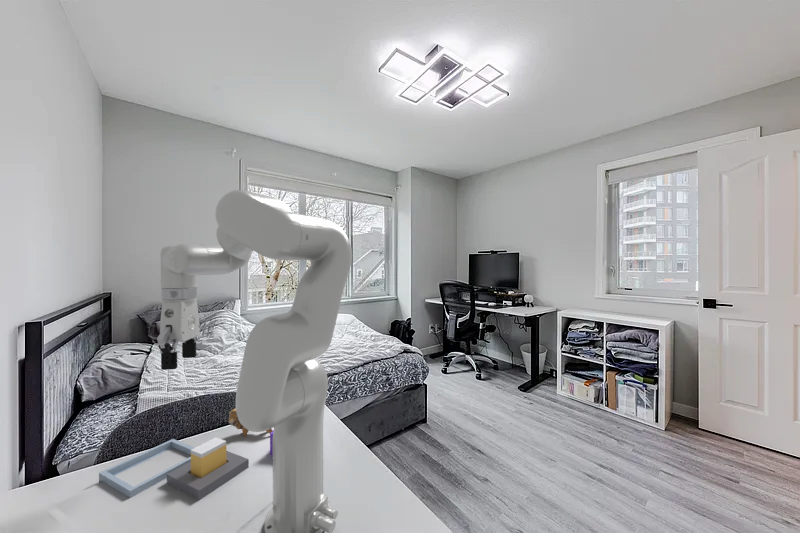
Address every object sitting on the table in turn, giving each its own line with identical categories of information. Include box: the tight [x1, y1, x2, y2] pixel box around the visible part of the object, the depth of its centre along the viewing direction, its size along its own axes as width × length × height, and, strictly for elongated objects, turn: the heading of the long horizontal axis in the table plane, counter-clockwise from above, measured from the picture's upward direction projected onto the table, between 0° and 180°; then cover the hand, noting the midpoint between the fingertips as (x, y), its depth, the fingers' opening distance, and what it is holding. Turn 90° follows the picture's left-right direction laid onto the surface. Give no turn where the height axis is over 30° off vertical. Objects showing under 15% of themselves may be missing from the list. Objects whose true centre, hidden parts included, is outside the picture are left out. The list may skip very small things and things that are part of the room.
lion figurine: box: [228, 407, 274, 438], centre depth 93 cm, size 15×5×9 cm, turn 101°
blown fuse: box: [190, 437, 227, 478], centre depth 75 cm, size 4×6×7 cm, turn 154°
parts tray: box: [98, 438, 196, 499], centre depth 78 cm, size 14×16×2 cm
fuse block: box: [166, 450, 250, 501], centre depth 75 cm, size 12×12×3 cm
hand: (179, 362), depth 80 cm, fingers open, 9 cm apart
